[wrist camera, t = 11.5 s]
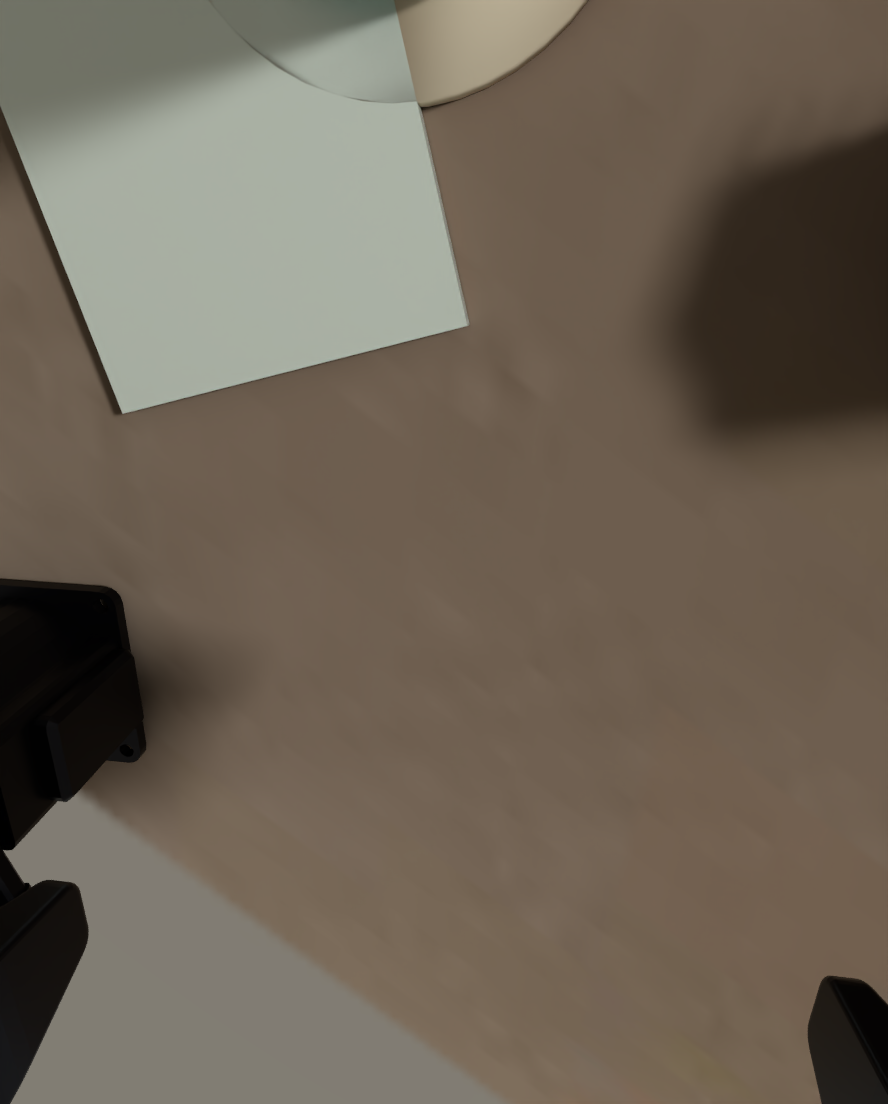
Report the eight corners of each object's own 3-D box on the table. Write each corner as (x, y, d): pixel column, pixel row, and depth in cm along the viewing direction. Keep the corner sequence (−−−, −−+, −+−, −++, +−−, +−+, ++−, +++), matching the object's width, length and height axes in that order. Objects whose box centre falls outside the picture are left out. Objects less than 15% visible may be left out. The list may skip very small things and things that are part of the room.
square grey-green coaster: (133, 410, 20) (122, 413, 20) (-24, 6, 17) (-44, -4, 16) (469, 324, 18) (467, 325, 18) (362, -153, 15) (355, -169, 14)
